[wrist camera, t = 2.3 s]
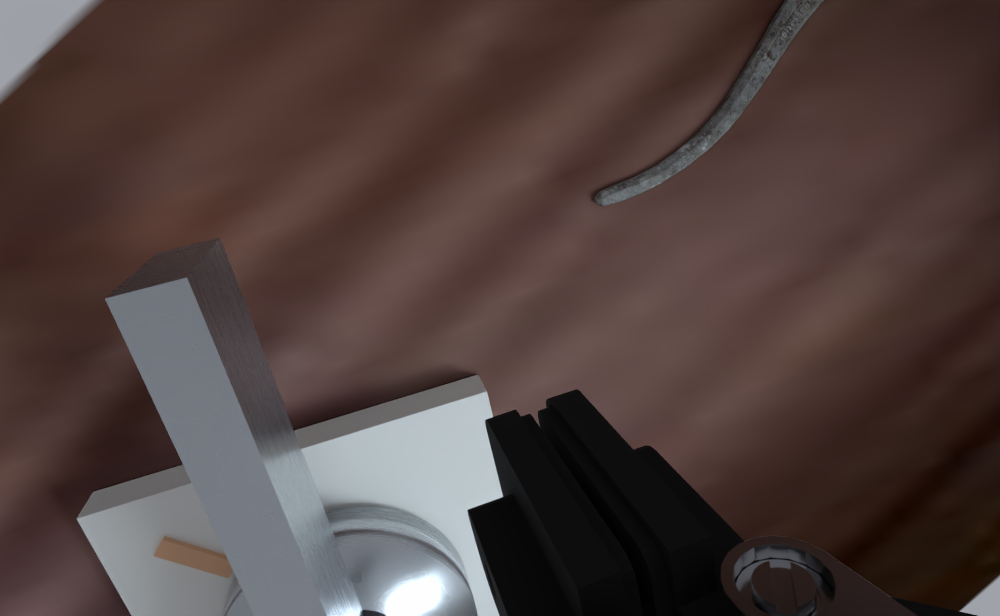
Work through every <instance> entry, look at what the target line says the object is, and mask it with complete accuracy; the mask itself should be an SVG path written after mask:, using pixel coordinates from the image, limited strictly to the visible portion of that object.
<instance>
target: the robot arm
mask: <svg viewBox="0 0 1000 616" xmlns="http://www.w3.org/2000/svg"><path fill="white" fill-rule="evenodd" d="M546 407H547V408H546V409H543V410H540V411H538V418H539V423H540V427H539V425H538V424H537V423H536V421H535V420H534V418H533V417H532V415H531V414H528V415H525V416H522V417H521V416H520V415H519V413H518V412H517V411H516V410H513V411H510V412H507V413H504V414H501V415H498V416H495V417H492V418H489V419H486V420H485V425H486V430H487V434H488V438H489V442H490V446H491V450H492V454H493V458H494V462H495V466H496V470H497V474H498V478H499V482H500V486H501V490H502V494H503V497H502V498H499V499H496V500H493V501H490V502H488V503H485V504H482V505H479V506H477V507H474V508H471V509H468V516H469V520H470V524H471V527H472V531H473V535H474V538H475V542H476V545H477V549H478V552H479V556H480V559H481V562H482V566H483V569H484V572H485V575H486V578H487V581H488V584H489V587H490V590H491V593H492V596H493V599H494V602H495V605H496V607H497V610H498V613H499V616H976V615H972V614H968V613H963V612H958V611H954V610H949V609H944V608H940V607H935V606H930V605H926V604H921V603H917V602H912V601H907V600H903V599H898V598H893V597H890V596H888V595H887V594H885V593H884V592H883V591H881V590H880V589H878V588H877V587H875V586H874V585H873V584H871V583H870V582H868V581H867V580H865V579H864V578H862V577H861V576H860V575H858V574H857V573H855V572H854V571H852V570H851V569H850V568H848V567H847V566H845V565H844V564H842V563H841V562H839V561H838V560H837V559H835V558H834V557H832V556H831V555H829V554H828V553H826V552H825V551H823V550H821V549H819V548H817V547H816V546H814V545H812V544H810V543H808V542H804V541H801V540H798V539H794V538H791V537H781V536H764V537H756V538H752V539H749V540H747V541H744V540H743V539H742V538H741V537H740V536H739V535H738V534H737V533H736V532H735V531H734V530H733V529H732V528H731V527H730V526H729V525H728V524H727V523H726V522H725V521H724V520H723V519H722V518H721V517H720V516H719V515H718V514H717V513H716V512H715V511H714V510H713V509H712V508H711V507H710V506H709V505H708V504H707V502H706V501H705V500H704V499H703V498H702V497H701V496H700V495H699V494H698V493H697V492H696V491H695V490H694V489H693V488H692V487H691V486H690V485H689V484H688V483H687V482H686V481H685V480H684V479H683V478H682V477H681V476H680V475H679V474H678V473H677V472H676V471H675V470H674V469H673V468H672V467H671V466H670V465H669V464H668V463H667V461H666V460H665V459H664V458H663V457H662V456H661V455H660V454H659V453H658V452H657V451H656V450H654V449H653V448H652V447H651V446H643V447H640V448H637V449H635V450H633V449H632V448H631V447H630V446H629V445H628V443H627V442H626V441H625V440H624V439H623V438H622V437H621V436H620V435H619V434H618V432H617V431H616V430H615V429H614V428H613V427H612V426H611V425H610V424H609V423H608V421H607V420H606V419H605V418H604V417H603V416H602V415H601V414H600V413H599V412H598V411H597V409H596V408H595V407H594V406H593V405H592V404H591V403H590V402H589V401H588V400H587V398H586V397H585V396H584V395H583V394H582V393H581V392H580V391H579V390H573V391H570V392H567V393H564V394H561V395H558V396H555V397H552V398H549V399H547V401H546Z"/></svg>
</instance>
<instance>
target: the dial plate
mask: <svg viewBox="0 0 1000 616" xmlns="http://www.w3.org/2000/svg"><path fill="white" fill-rule="evenodd" d="M492 417H493V415H492V411H491V407H490V403H489V398H488V394H487V391H486V389H485V387H484V385H483V383H482V381H481V379H480V377H479V376H478V375H475V376H471V377H468V378H465V379H461V380H458V381H455V382H452V383H448V384H445V385H442V386H439V387H435V388H432V389H429V390H425V391H422V392H419V393H416V394H412V395H409V396H406V397H402V398H399V399H396V400H393V401H389V402H386V403H383V404H380V405H376V406H373V407H370V408H366V409H363V410H360V411H357V412H353V413H350V414H347V415H343V416H340V417H337V418H334V419H330V420H327V421H324V422H321V423H317V424H314V425H311V426H307V427H304V428H301V429H298V430H294V432H295V435H296V437H297V440H298V442H299V445H300V448H301V450H302V453H303V456H304V458H305V461H306V463H307V466H308V469H309V471H310V474H311V476H312V479H313V482H314V484H315V487H316V489H317V492H318V495H319V497H320V500H321V503H322V505H323V508H324V510H325V512H327V511H330V510H336V509H342V508H348V507H381V508H387V509H393V510H398V511H401V512H405V513H408V514H411V515H414V516H416V517H418V518H420V519H422V520H425V521H426V522H428V523H429V524H431V525H433V526H434V527H436V528H437V529H438V530H439V531H440V532H442V533H443V534H444V535H445V536H446V537H447V538H448V539H449V540H450V541H451V543H452V544H453V545H454V546H455V548H456V550H457V551H458V553H459V555H460V556H461V559H462V561H463V564H464V566H465V569H466V573H467V576H468V580H469V584H470V587H471V591H472V594H473V598H474V602H475V605H476V610H477V615H478V616H499V613H498V610H497V607H496V605H495V602H494V599H493V596H492V593H491V590H490V587H489V584H488V581H487V578H486V575H485V572H484V569H483V566H482V562H481V559H480V556H479V552H478V549H477V545H476V542H475V538H474V535H473V531H472V527H471V524H470V520H469V516H468V509H471V508H474V507H477V506H479V505H482V504H485V503H488V502H490V501H493V500H496V499H499V498H502V497H503V494H502V490H501V486H500V482H499V478H498V474H497V470H496V466H495V462H494V458H493V454H492V450H491V446H490V442H489V438H488V434H487V430H486V425H485V420H486V419H489V418H492ZM77 521H78V522H79V524H80V526H81V528H82V529H83V531H84V533H85V535H86V537H87V538H88V540H89V542H90V544H91V545H92V547H93V549H94V551H95V552H96V554H97V556H98V558H99V559H100V561H101V563H102V565H103V566H104V568H105V570H106V572H107V573H108V575H109V577H110V579H111V580H112V582H113V584H114V586H115V588H116V589H117V591H118V593H119V595H120V596H121V598H122V600H123V602H124V603H125V605H126V607H127V609H128V610H129V612H130V614H131V616H222V613H223V609H224V604H225V600H226V597H227V594H228V591H229V588H230V586H231V584H232V582H233V580H234V578H235V574H234V572H233V570H232V567H231V565H230V563H229V561H228V559H227V557H226V555H225V553H224V550H223V548H222V546H221V544H220V542H219V540H218V538H217V536H216V533H215V531H214V529H213V527H212V525H211V523H210V521H209V519H208V516H207V514H206V512H205V510H204V508H203V506H202V504H201V502H200V499H199V497H198V495H197V493H196V491H195V489H194V487H193V485H192V482H191V480H190V478H189V476H188V474H187V472H186V470H185V468H184V465H180V466H176V467H173V468H170V469H166V470H163V471H160V472H157V473H153V474H150V475H147V476H143V477H140V478H137V479H134V480H130V481H127V482H124V483H121V484H117V485H114V486H111V487H107V488H104V489H101V490H98V491H94V492H93V493H92V494H91V496H90V498H89V499H88V501H87V502H86V504H85V506H84V507H83V509H82V511H81V512H80V514H79V515H78V517H77Z"/></svg>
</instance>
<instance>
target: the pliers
mask: <svg viewBox="0 0 1000 616" xmlns="http://www.w3.org/2000/svg"><path fill="white" fill-rule="evenodd" d="M823 1H824V0H785V1H784V3H783V4H782V6H781V7H780V9H779V11H778V12H777V14H776V15H775V17H774V19H773V20H772V22H771V23H770V25H769V27H768V29H767V30H766V32H765V34H764V36H763V38H762V39H761V41H760V43H759V45H758V46H757V48H756V50H755V51H754V53H753V55H752V56H751V58H750V60H749V61H748V63H747V65H746V66H745V68H744V70H743V71H742V73H741V75H740V76H739V78H738V80H737V81H736V83H735V84H734V86H733V87H732V89H731V91H730V92H729V94H728V95H727V97H726V98H725V100H724V101H723V103H722V104H721V106H720V107H719V108H718V110H717V111H716V113H715V114H714V115H713V116H712V117H711V118H710V120H709V121H708V122H707V123H706V124H705V125H704V126H703V127H702V129H701V130H700V131H699V132H698V133H697V134H696V135H695V136H694V137H692V138H691V139H690V140H689V141H688V142H687V143H685V144H684V145H683V146H682V147H681V148H680V149H678V150H677V151H676V152H674V153H673V154H672V155H670V156H669V157H667V158H666V159H665V160H663V161H662V162H660V163H659V164H658V165H656V166H654V167H652V168H650V169H649V170H647V171H645V172H643V173H641V174H639V175H637V176H635V177H633V178H631V179H628V180H626V181H623V182H621V183H618V184H615V185H613V186H611V187H608V188H606V189H604V190H601V191H599V192H598V193H597V194H596V196H595V198H594V201H595V203H597V204H599V205H601V206H605V205H609V204H613V203H617V202H620V201H623V200H625V199H628V198H631V197H633V196H636V195H638V194H641V193H643V192H645V191H647V190H649V189H651V188H653V187H654V186H656V185H658V184H660V183H662V182H664V181H666V180H667V179H669V178H670V177H672V176H673V175H675V174H676V173H678V172H679V171H681V170H682V169H684V168H685V167H687V166H688V165H690V164H691V163H692V162H693V161H695V160H696V159H697V158H699V157H700V156H701V155H702V154H704V153H705V152H706V151H707V150H709V149H710V148H711V147H712V146H713V145H714V144H715V143H716V142H717V141H718V140H719V139H720V138H721V137H722V136H723V135H724V134H725V133H726V132H727V131H728V130H729V129H730V128H731V126H732V125H733V124H734V123H735V121H736V120H737V119H738V118H739V116H740V115H741V114H742V112H743V111H744V110H745V109H746V107H747V106H748V105H749V103H750V102H751V100H752V99H753V97H754V96H755V94H756V93H757V91H758V90H759V89H760V87H761V86H762V84H763V83H764V81H765V80H766V78H767V77H768V75H769V74H770V72H771V71H772V69H773V68H774V67H775V65H776V64H777V62H778V61H779V59H780V58H781V56H782V55H783V53H784V52H785V50H786V49H787V47H788V46H789V44H790V43H791V41H792V40H793V39H794V37H795V36H796V35H797V33H798V32H799V30H800V29H801V28H802V26H803V25H804V24H805V22H806V21H807V20H808V19H809V17H810V16H811V15H812V14H813V13H814V11H815V10H816V9H817V8H818V7H819V5H820V4H821V3H822V2H823Z"/></svg>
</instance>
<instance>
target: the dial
mask: <svg viewBox="0 0 1000 616" xmlns="http://www.w3.org/2000/svg"><path fill="white" fill-rule="evenodd" d="M105 300H106V302H107V304H108V306H109V308H110V310H111V313H112V315H113V317H114V319H115V321H116V323H117V325H118V327H119V330H120V332H121V334H122V336H123V338H124V340H125V342H126V344H127V347H128V349H129V351H130V353H131V355H132V357H133V359H134V361H135V363H136V366H137V368H138V370H139V372H140V374H141V376H142V378H143V380H144V383H145V385H146V387H147V389H148V391H149V393H150V395H151V397H152V400H153V402H154V404H155V406H156V408H157V410H158V412H159V414H160V417H161V419H162V421H163V423H164V425H165V427H166V429H167V431H168V434H169V436H170V438H171V440H172V442H173V444H174V446H175V448H176V451H177V453H178V455H179V457H180V459H181V461H182V463H183V465H184V468H185V470H186V472H187V474H188V476H189V478H190V480H191V482H192V485H193V487H194V489H195V491H196V493H197V495H198V497H199V499H200V502H201V504H202V506H203V508H204V510H205V512H206V514H207V516H208V519H209V521H210V523H211V525H212V527H213V529H214V531H215V533H216V536H217V538H218V540H219V542H220V544H221V546H222V548H223V550H224V553H225V555H226V557H227V559H228V561H229V563H230V565H231V567H232V570H233V572H234V574H235V578H234V580H233V582H232V584H231V586H230V588H229V591H228V594H227V597H226V600H225V604H224V609H223V613H222V616H478V615H477V610H476V605H475V602H474V598H473V594H472V591H471V587H470V584H469V580H468V576H467V573H466V569H465V566H464V564H463V561H462V559H461V556H460V555H459V553H458V551H457V550H456V548H455V546H454V545H453V544H452V543H451V541H450V540H449V539H448V538H447V537H446V536H445V535H444V534H443V533H442V532H440V531H439V530H438V529H437V528H436V527H434V526H433V525H431V524H429V523H428V522H426V521H425V520H422V519H420V518H418V517H416V516H414V515H411V514H408V513H405V512H401V511H398V510H393V509H387V508H381V507H348V508H342V509H336V510H330V511H327V512H325V510H324V508H323V505H322V503H321V500H320V497H319V495H318V492H317V489H316V487H315V484H314V482H313V479H312V476H311V474H310V471H309V469H308V466H307V463H306V461H305V458H304V456H303V453H302V450H301V448H300V445H299V442H298V440H297V437H296V435H295V432H294V429H293V427H292V424H291V422H290V419H289V416H288V414H287V411H286V409H285V406H284V403H283V401H282V398H281V395H280V393H279V390H278V388H277V385H276V382H275V380H274V377H273V375H272V372H271V369H270V367H269V364H268V361H267V359H266V356H265V354H264V351H263V348H262V346H261V343H260V341H259V338H258V335H257V333H256V330H255V328H254V325H253V322H252V320H251V317H250V314H249V312H248V309H247V307H246V304H245V301H244V299H243V296H242V294H241V291H240V288H239V286H238V283H237V281H236V278H235V275H234V273H233V270H232V267H231V265H230V262H229V260H228V257H227V254H226V252H225V249H224V247H223V244H222V241H221V239H220V238H216V239H212V240H208V241H204V242H200V243H196V244H192V245H188V246H184V247H180V248H176V249H172V250H168V251H164V252H160V253H157V254H156V255H155V256H153V257H152V258H151V259H150V260H149V261H148V262H146V263H145V264H144V265H143V266H142V267H141V268H140V269H138V270H137V271H136V272H135V273H134V274H133V275H132V276H130V277H129V278H128V279H127V280H126V281H125V282H123V283H122V284H121V285H120V286H119V287H118V288H117V289H115V290H114V291H113V292H112V293H111V294H110V295H109V296H107V297H106V298H105Z"/></svg>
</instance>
